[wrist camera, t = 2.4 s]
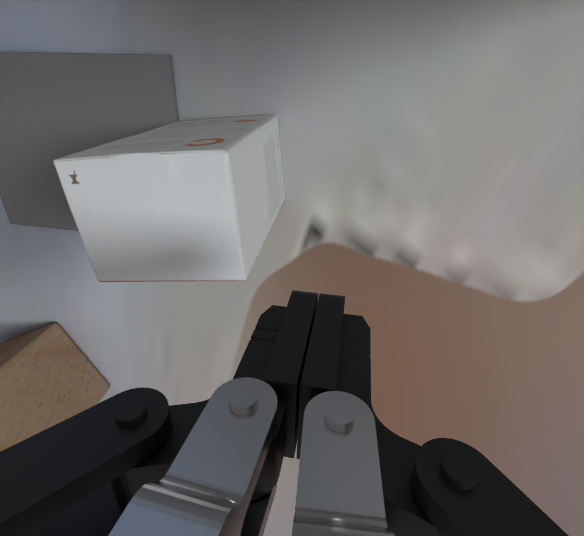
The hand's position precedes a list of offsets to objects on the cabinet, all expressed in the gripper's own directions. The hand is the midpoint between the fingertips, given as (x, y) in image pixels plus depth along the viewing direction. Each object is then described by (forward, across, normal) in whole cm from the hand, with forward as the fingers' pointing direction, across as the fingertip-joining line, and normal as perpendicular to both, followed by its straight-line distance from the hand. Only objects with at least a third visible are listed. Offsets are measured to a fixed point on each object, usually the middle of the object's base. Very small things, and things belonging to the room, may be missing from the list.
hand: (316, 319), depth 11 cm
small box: (+19, +9, 0) cm, 21 cm away
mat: (+19, +22, 0) cm, 29 cm away
